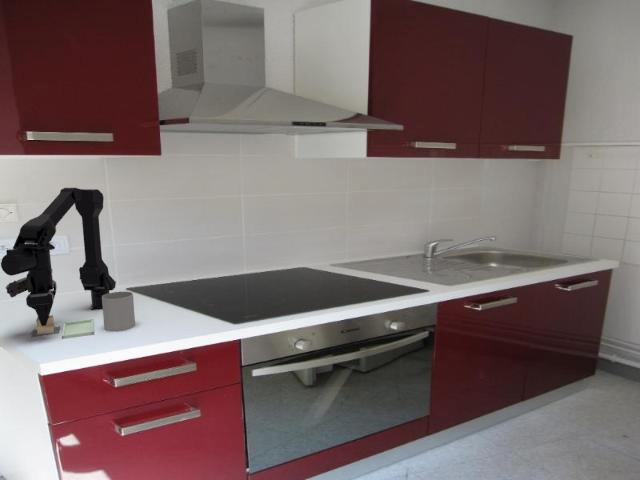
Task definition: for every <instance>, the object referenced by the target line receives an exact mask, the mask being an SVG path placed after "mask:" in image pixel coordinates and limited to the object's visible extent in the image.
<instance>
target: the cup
mask: <svg viewBox="0 0 640 480" xmlns="http://www.w3.org/2000/svg"><path fill="white" fill-rule="evenodd" d="M134 303H135V301H134V293H133V292H132V291H113V292H110V293H108V294H105V295H103V296H102V305H103V309H102V317H103V327H104V331H107V332H110V333H111V332H112V333H113V332H123V331H128V330H132V329H133V328H135V326H136V315H135V304H134Z"/></svg>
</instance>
